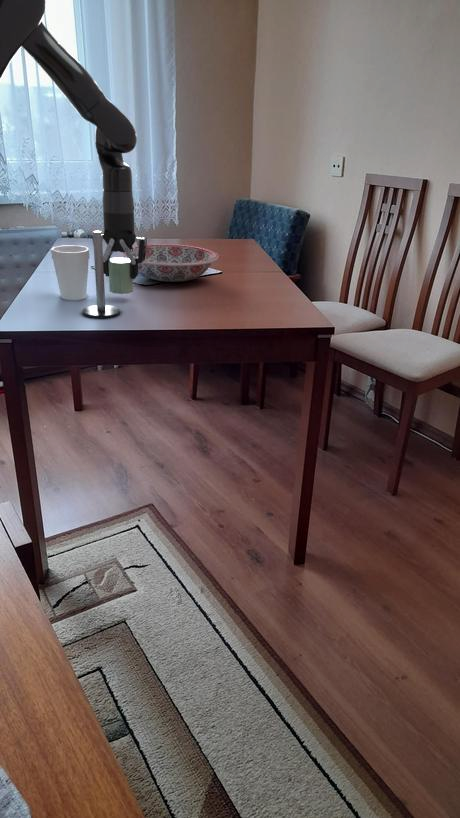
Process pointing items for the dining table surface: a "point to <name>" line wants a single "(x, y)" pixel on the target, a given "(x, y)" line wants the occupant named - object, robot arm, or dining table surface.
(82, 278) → the foam cup
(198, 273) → the ceramic bowl
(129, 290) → the green cup
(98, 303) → the towel holder
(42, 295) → the dining table surface
